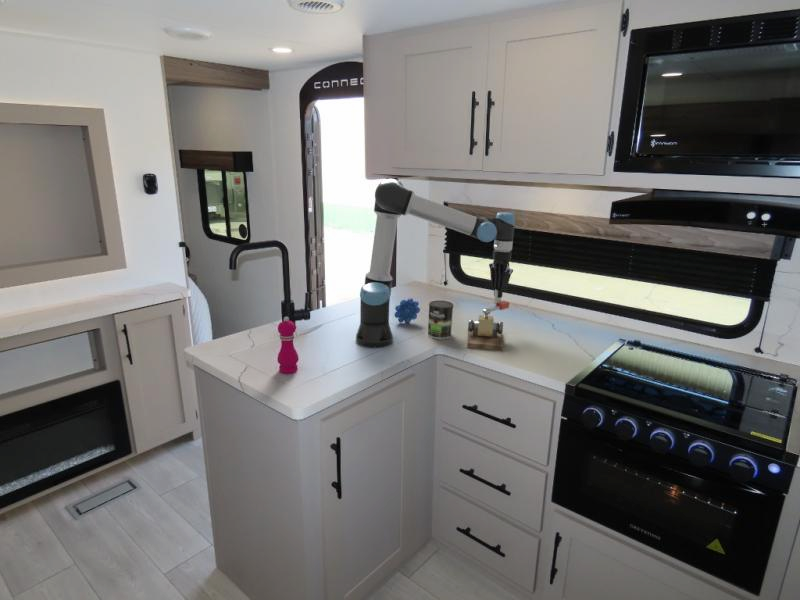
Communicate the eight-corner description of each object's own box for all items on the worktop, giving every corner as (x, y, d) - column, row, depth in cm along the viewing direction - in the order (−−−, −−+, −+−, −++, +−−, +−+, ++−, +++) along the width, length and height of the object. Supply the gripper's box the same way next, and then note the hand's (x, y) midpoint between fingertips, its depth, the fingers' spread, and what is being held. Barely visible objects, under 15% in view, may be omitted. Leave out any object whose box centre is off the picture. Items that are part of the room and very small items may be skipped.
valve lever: (487, 314, 199) (487, 309, 198) (480, 312, 201) (481, 307, 201) (509, 307, 209) (509, 302, 209) (503, 305, 212) (503, 300, 211)
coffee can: (446, 341, 203) (447, 308, 198) (423, 336, 207) (425, 304, 203) (455, 333, 211) (457, 302, 207) (433, 329, 216) (435, 298, 212)
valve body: (467, 336, 202) (469, 314, 199) (467, 331, 208) (469, 309, 205) (501, 339, 200) (504, 316, 197) (501, 334, 206) (503, 312, 203)
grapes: (419, 320, 227) (420, 295, 223) (419, 325, 220) (420, 299, 217) (394, 319, 227) (395, 295, 223) (394, 324, 220) (394, 299, 217)
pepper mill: (300, 366, 175) (298, 313, 169) (297, 374, 168) (295, 320, 162) (280, 365, 175) (277, 313, 169) (276, 374, 168) (273, 320, 162)
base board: (467, 347, 196) (467, 343, 196) (467, 330, 215) (468, 326, 215) (502, 350, 194) (502, 345, 194) (500, 333, 213) (500, 328, 213)
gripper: (485, 247, 206) (480, 300, 213) (505, 253, 195) (500, 309, 202) (499, 246, 210) (494, 298, 217) (520, 252, 199) (513, 307, 206)
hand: (497, 303), depth 209 cm, fingers closed
